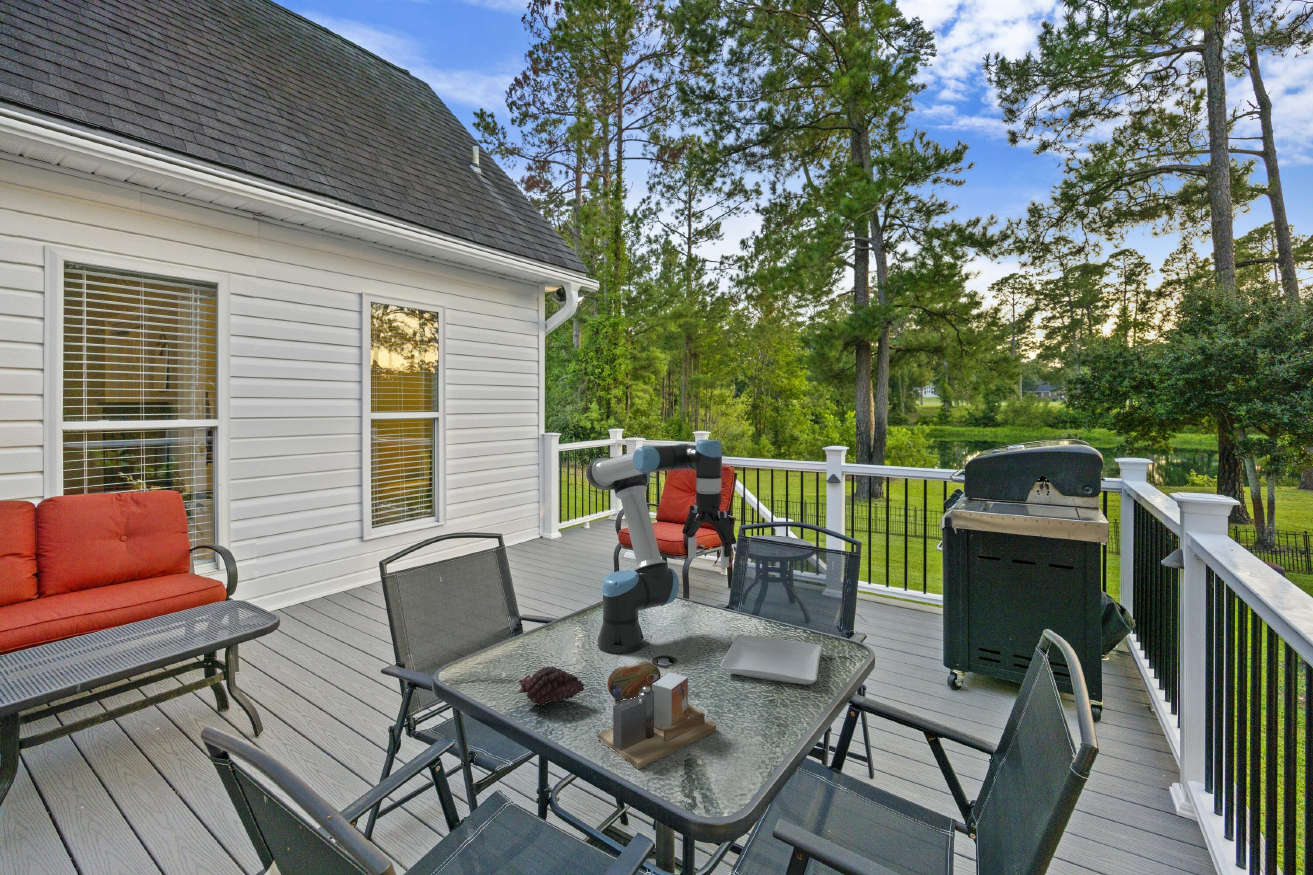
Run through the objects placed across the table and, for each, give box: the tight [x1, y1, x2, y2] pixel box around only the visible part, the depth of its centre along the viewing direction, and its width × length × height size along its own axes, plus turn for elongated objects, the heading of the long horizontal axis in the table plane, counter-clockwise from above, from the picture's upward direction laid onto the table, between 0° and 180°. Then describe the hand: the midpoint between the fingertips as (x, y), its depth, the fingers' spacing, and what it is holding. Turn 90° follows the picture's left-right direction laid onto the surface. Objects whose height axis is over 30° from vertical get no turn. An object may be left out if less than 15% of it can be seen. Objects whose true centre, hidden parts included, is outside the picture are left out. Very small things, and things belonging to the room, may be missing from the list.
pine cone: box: [518, 666, 585, 707], centre depth 157 cm, size 18×10×10 cm, turn 85°
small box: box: [652, 672, 689, 730], centre depth 145 cm, size 8×6×10 cm
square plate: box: [719, 634, 823, 685], centre depth 181 cm, size 27×27×4 cm
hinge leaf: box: [612, 686, 654, 751], centre depth 138 cm, size 4×10×11 cm, turn 130°
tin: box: [606, 661, 662, 702], centre depth 162 cm, size 15×3×8 cm, turn 117°
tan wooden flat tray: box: [597, 704, 717, 770], centre depth 142 cm, size 15×24×4 cm, turn 130°
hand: (708, 562), depth 179 cm, fingers open, 13 cm apart
